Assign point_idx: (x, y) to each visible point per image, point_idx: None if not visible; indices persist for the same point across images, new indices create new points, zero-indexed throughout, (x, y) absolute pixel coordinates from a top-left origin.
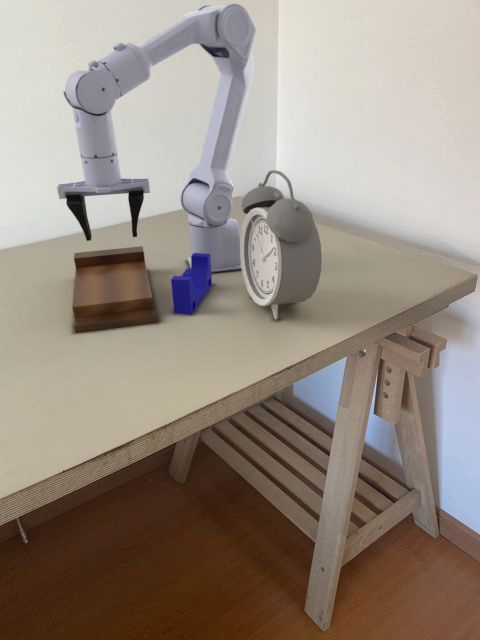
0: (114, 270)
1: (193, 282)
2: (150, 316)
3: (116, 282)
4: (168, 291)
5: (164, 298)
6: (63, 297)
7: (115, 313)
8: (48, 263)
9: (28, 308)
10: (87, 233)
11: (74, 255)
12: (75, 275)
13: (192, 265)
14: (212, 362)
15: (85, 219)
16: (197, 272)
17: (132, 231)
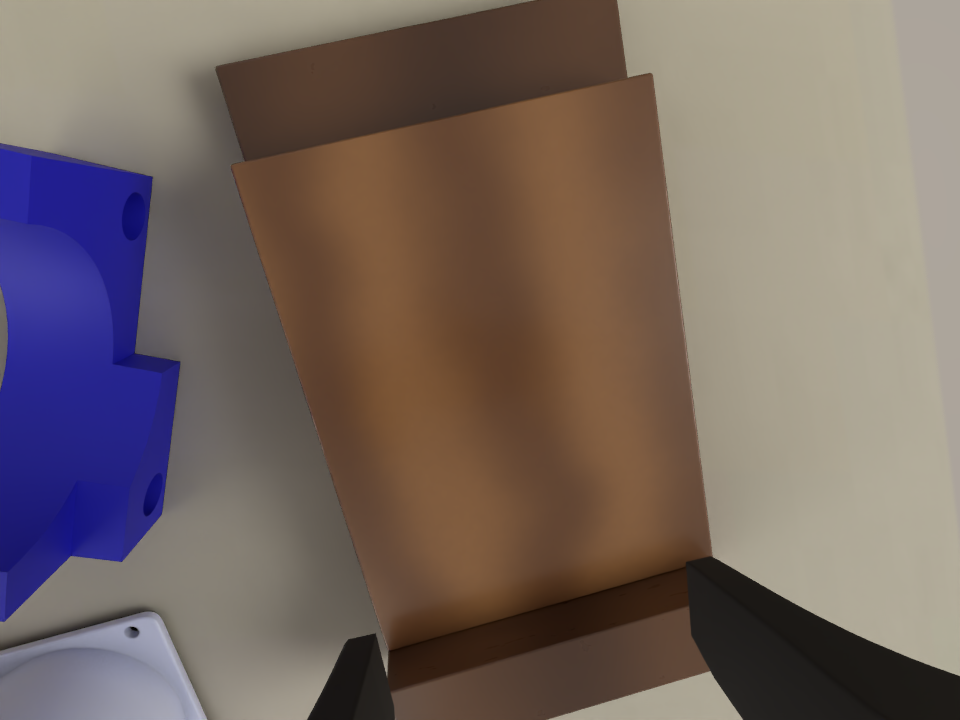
0: (520, 530)
1: (68, 428)
2: (240, 62)
3: (480, 381)
4: (245, 430)
5: (248, 353)
6: (715, 378)
7: (435, 111)
8: None
9: (838, 275)
10: (731, 585)
11: None
12: (700, 471)
13: (39, 525)
14: None
15: (812, 678)
16: (25, 486)
17: (366, 662)
